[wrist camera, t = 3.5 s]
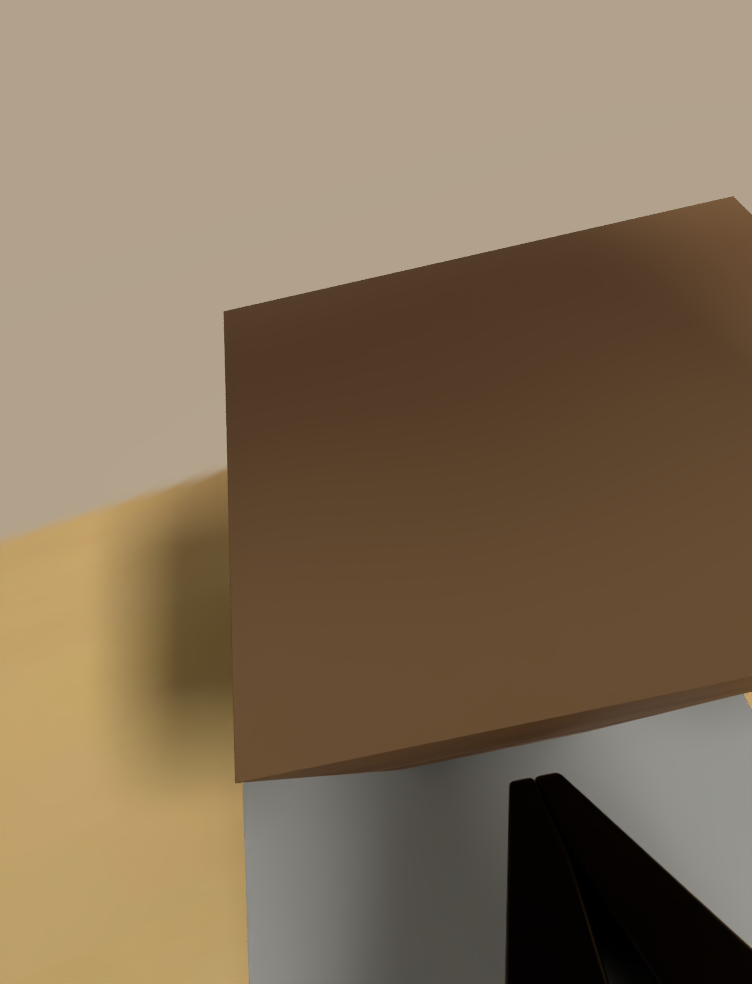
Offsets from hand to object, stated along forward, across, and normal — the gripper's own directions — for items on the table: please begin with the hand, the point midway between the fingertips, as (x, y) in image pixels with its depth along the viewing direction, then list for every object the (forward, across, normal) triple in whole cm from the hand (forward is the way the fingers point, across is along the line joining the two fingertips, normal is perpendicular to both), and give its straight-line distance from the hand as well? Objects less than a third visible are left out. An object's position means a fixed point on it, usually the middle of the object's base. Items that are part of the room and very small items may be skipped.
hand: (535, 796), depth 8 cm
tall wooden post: (+6, 0, +2) cm, 6 cm away
